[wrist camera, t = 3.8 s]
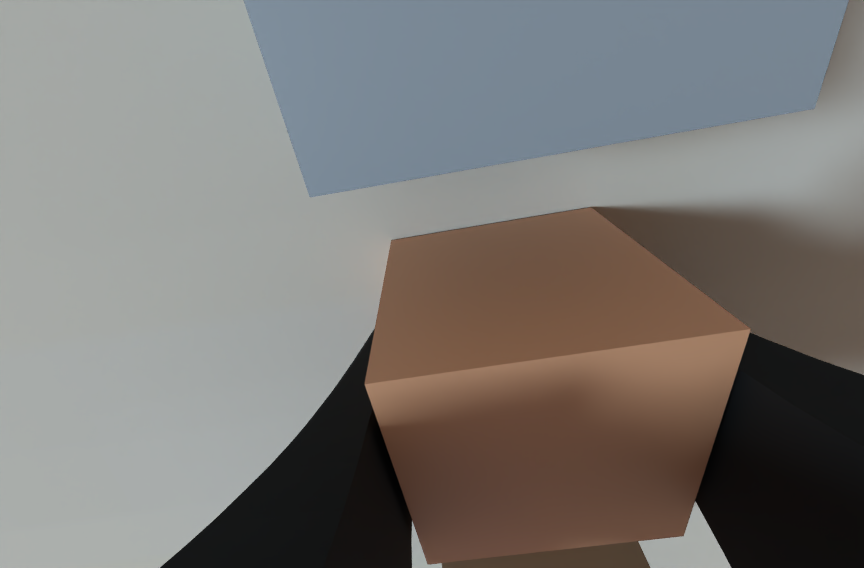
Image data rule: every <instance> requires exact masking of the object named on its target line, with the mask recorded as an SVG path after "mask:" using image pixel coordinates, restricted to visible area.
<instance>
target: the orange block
mask: <svg viewBox="0 0 864 568" xmlns="http://www.w3.org/2000/svg"><path fill="white" fill-rule="evenodd" d="M750 330H751V329H750V328H749V327H748V326H746V325H745V324H744V323H742V322H741V321H740V320H738V319H737V318H736V317H734V316H733V315H732V314H730V313H729V312H728V311H727V310H725V309H724V308H723V307H721V306H720V305H719V304H717V303H716V302H715V301H713V300H712V299H711V298H709V297H708V296H707V295H706V294H704V293H703V292H702V291H700V290H699V289H698V288H696V287H695V286H694V285H692V284H691V283H690V282H688V281H687V280H686V279H685V278H683V277H682V276H681V275H679V274H678V273H677V272H675V271H674V270H673V269H671V268H670V267H669V266H668V265H666V264H665V263H664V262H662V261H661V260H660V259H658V258H657V257H656V256H654V255H653V254H652V253H650V252H649V251H648V250H647V249H645V248H644V247H643V246H641V245H640V244H639V243H637V242H636V241H635V240H633V239H632V238H631V237H629V236H628V235H627V234H626V233H624V232H623V231H622V230H620V229H619V228H618V227H616V226H615V225H614V224H612V223H611V222H610V221H608V220H607V219H606V218H605V217H603V216H602V215H601V214H599V213H598V212H597V211H595V210H594V209H593V208H591V207H589V208H583V209H577V210H571V211H565V212H559V213H553V214H547V215H541V216H535V217H529V218H523V219H517V220H511V221H505V222H499V223H493V224H487V225H481V226H475V227H469V228H463V229H457V230H451V231H445V232H439V233H433V234H427V235H421V236H415V237H409V238H403V239H397V240H391V245H390V250H389V255H388V261H387V266H386V272H385V277H384V282H383V288H382V293H381V298H380V304H379V309H378V314H377V320H376V325H375V331H374V336H373V341H372V347H371V352H370V357H369V363H368V368H367V374H366V379H365V387H366V390H367V393H368V396H369V398H370V401H371V404H372V407H373V410H374V413H375V416H376V418H377V421H378V424H379V427H380V430H381V433H382V435H383V438H384V441H385V444H386V447H387V450H388V453H389V455H390V458H391V461H392V464H393V467H394V470H395V472H396V475H397V478H398V481H399V484H400V487H401V490H402V492H403V495H404V498H405V501H406V504H407V507H408V509H409V512H410V515H411V518H412V521H413V524H414V527H415V529H416V532H417V535H418V538H419V541H420V544H421V546H422V549H423V552H424V555H425V558H426V561H427V564H437V563H446V562H455V561H464V560H473V559H482V558H491V557H500V556H509V555H518V554H527V553H536V552H545V551H554V550H563V549H572V548H581V547H590V546H599V545H608V544H616V543H625V542H634V541H643V540H652V539H661V538H670V537H679V536H684V533H685V530H686V527H687V524H688V521H689V518H690V515H691V512H692V508H693V505H694V502H695V499H696V496H697V493H698V490H699V487H700V484H701V481H702V478H703V475H704V472H705V468H706V465H707V462H708V459H709V456H710V453H711V450H712V447H713V444H714V441H715V438H716V435H717V432H718V429H719V425H720V422H721V419H722V416H723V413H724V410H725V407H726V404H727V401H728V398H729V395H730V392H731V389H732V385H733V382H734V379H735V376H736V373H737V370H738V367H739V364H740V361H741V358H742V355H743V352H744V349H745V346H746V342H747V339H748V336H749V333H750Z"/></svg>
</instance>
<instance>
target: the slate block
mask: <svg viewBox="0 0 864 568" xmlns="http://www.w3.org/2000/svg"><path fill="white" fill-rule="evenodd" d="M848 1H849V0H244V3H245V6H246V9H247V12H248V15H249V18H250V21H251V24H252V27H253V30H254V33H255V36H256V39H257V42H258V45H259V48H260V51H261V54H262V57H263V59H264V62H265V65H266V68H267V71H268V74H269V77H270V80H271V83H272V86H273V89H274V92H275V95H276V98H277V101H278V104H279V107H280V110H281V113H282V116H283V119H284V122H285V125H286V128H287V131H288V134H289V137H290V140H291V143H292V146H293V149H294V152H295V155H296V158H297V160H298V163H299V166H300V169H301V172H302V175H303V178H304V181H305V184H306V187H307V190H308V193H309V196H310V197H315V196H320V195H326V194H332V193H337V192H343V191H349V190H355V189H360V188H366V187H372V186H377V185H383V184H389V183H394V182H400V181H406V180H411V179H417V178H423V177H429V176H434V175H440V174H446V173H451V172H457V171H463V170H468V169H474V168H480V167H485V166H491V165H497V164H503V163H508V162H514V161H520V160H525V159H531V158H537V157H542V156H548V155H554V154H560V153H565V152H571V151H577V150H582V149H588V148H594V147H599V146H605V145H611V144H616V143H622V142H628V141H634V140H639V139H645V138H651V137H656V136H662V135H668V134H673V133H679V132H685V131H690V130H696V129H702V128H708V127H713V126H719V125H725V124H730V123H736V122H742V121H747V120H753V119H759V118H765V117H770V116H776V115H782V114H787V113H793V112H799V111H804V110H810V109H814V108H815V105H816V102H817V99H818V96H819V93H820V90H821V86H822V83H823V80H824V77H825V74H826V71H827V67H828V64H829V61H830V58H831V55H832V52H833V49H834V45H835V42H836V39H837V36H838V33H839V30H840V26H841V23H842V20H843V17H844V14H845V11H846V8H847V4H848Z"/></svg>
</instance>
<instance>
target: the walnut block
mask: <svg viewBox="0 0 864 568" xmlns="http://www.w3.org/2000/svg"><path fill="white" fill-rule="evenodd" d="M442 568H650V566H649V564H648V562H647V560H646V557H645V555H644V553H643V551H642V549H641V547H640V545H639V543H638V541H634V542H625V543H616V544H608V545H599V546H590V547H581V548H572V549H563V550H554V551H545V552H536V553H527V554H518V555H509V556H500V557H491V558H482V559H473V560H464V561H455V562H446V563H442Z"/></svg>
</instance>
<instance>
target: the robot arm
mask: <svg viewBox="0 0 864 568" xmlns="http://www.w3.org/2000/svg"><path fill="white" fill-rule="evenodd" d="M374 331H375V329H374V330H373V332H372V333H371V335H370V336H369V338H368V340H367V341H366V343H365V344H364V346H363V347H362V349H361V350H360V352H359V353H358V355H357V356H356V358H355V359H354V361H353V362H352V364H351V365H350V367H349V368H348V370H347V371H346V373H345V374H344V375H343V377H342V378H341V380H340V381H339V383H338V384H337V385H336V387H335V388H334V390H333V391H332V392H331V394H330V395H329V396H328V398H327V399H326V400H325V401H324V403H323V404H322V405H321V407H320V408H319V409H318V410H317V412H316V413H315V414H314V416H313V417H312V418H311V419H310V421H309V422H308V423H307V424H306V426H305V427H304V428H303V429H302V430H301V432H300V433H299V434H298V435H297V436H296V437H295V439H294V440H293V441H292V442H291V443H290V444H289V445H288V446H287V448H286V449H285V450H284V451H283V452H282V453H281V454H280V455H279V456H278V457H277V458H276V460H275V461H274V462H273V463H272V464H271V465H270V466H269V467H268V468H267V469H266V470H265V471H264V472H263V473H262V474H261V475H260V476H259V477H258V478H257V479H256V480H255V481H254V482H253V483H252V484H251V485H250V486H249V487H248V488H247V489H246V490H245V491H244V492H243V493H242V494H241V495H240V496H239V497H237V498H236V499H235V500H234V501H233V502H232V503H231V504H230V505H229V506H228V507H227V508H226V509H225V510H224V511H223V512H222V513H221V514H220V515H219V516H218V517H217V518H216V519H215V520H214V521H213V522H211V523H210V524H209V525H208V526H207V527H206V528H205V529H204V530H203V531H201V532H200V533H199V534H198V535H197V536H196V537H195V538H194V539H193V540H191V541H190V542H189V543H188V544H187V545H186V546H185V547H184V548H182V549H181V550H180V551H179V552H178V553H177V554H175V555H174V556H173V557H172V558H171V559H170V560H168V561H167V562H166V563H165V564H164V565H163V566H161V567H160V568H412V547H411V533H412V518H411V515H410V512H409V509H408V507H407V504H406V501H405V498H404V495H403V492H402V490H401V487H400V484H399V481H398V478H397V475H396V472H395V470H394V467H393V464H392V461H391V458H390V455H389V453H388V450H387V447H386V444H385V441H384V438H383V435H382V433H381V430H380V427H379V424H378V421H377V418H376V416H375V413H374V410H373V407H372V404H371V401H370V398H369V396H368V393H367V390H366V387H365V379H366V374H367V368H368V363H369V357H370V352H371V347H372V341H373V336H374ZM695 501H696V503H697V505H698V506H699V508H700V510H701V512H702V514H703V516H704V517H705V519H706V521H707V523H708V525H709V527H710V528H711V530H712V532H713V534H714V536H715V538H716V539H717V541H718V543H719V545H720V547H721V549H722V550H723V552H724V554H725V556H726V558H727V560H728V562H729V564H730V566H731V568H864V375H862V374H859V373H856V372H853V371H850V370H847V369H844V368H841V367H838V366H835V365H832V364H830V363H827V362H824V361H821V360H818V359H816V358H813V357H810V356H808V355H805V354H803V353H800V352H797V351H795V350H792V349H790V348H787V347H785V346H782V345H779V344H777V343H774V342H772V341H769V340H767V339H764V338H762V337H759V336H757V335H754V334H752V333H749V336H748V339H747V342H746V346H745V349H744V352H743V355H742V358H741V361H740V364H739V367H738V370H737V373H736V376H735V379H734V382H733V385H732V389H731V392H730V395H729V398H728V401H727V404H726V407H725V410H724V413H723V416H722V419H721V422H720V425H719V429H718V432H717V435H716V438H715V441H714V444H713V447H712V450H711V453H710V456H709V459H708V462H707V465H706V468H705V472H704V475H703V478H702V481H701V484H700V487H699V490H698V493H697V496H696V499H695Z"/></svg>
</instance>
